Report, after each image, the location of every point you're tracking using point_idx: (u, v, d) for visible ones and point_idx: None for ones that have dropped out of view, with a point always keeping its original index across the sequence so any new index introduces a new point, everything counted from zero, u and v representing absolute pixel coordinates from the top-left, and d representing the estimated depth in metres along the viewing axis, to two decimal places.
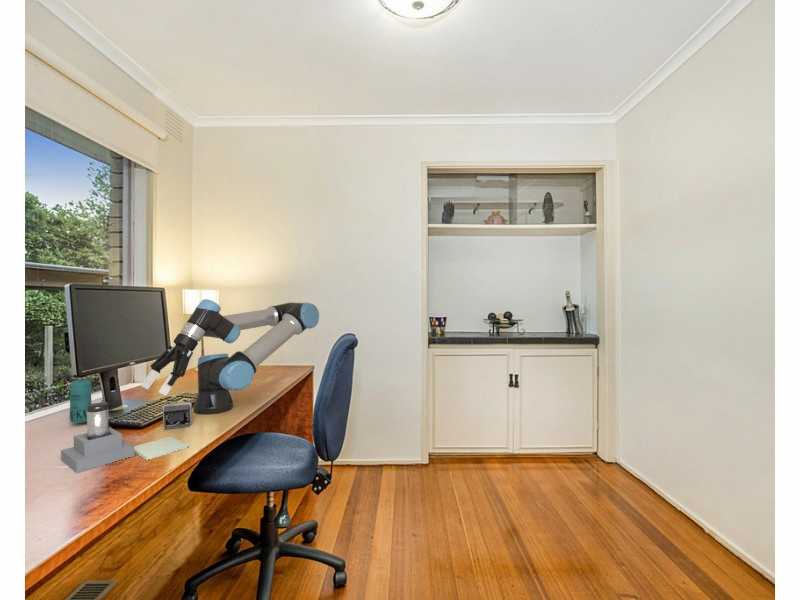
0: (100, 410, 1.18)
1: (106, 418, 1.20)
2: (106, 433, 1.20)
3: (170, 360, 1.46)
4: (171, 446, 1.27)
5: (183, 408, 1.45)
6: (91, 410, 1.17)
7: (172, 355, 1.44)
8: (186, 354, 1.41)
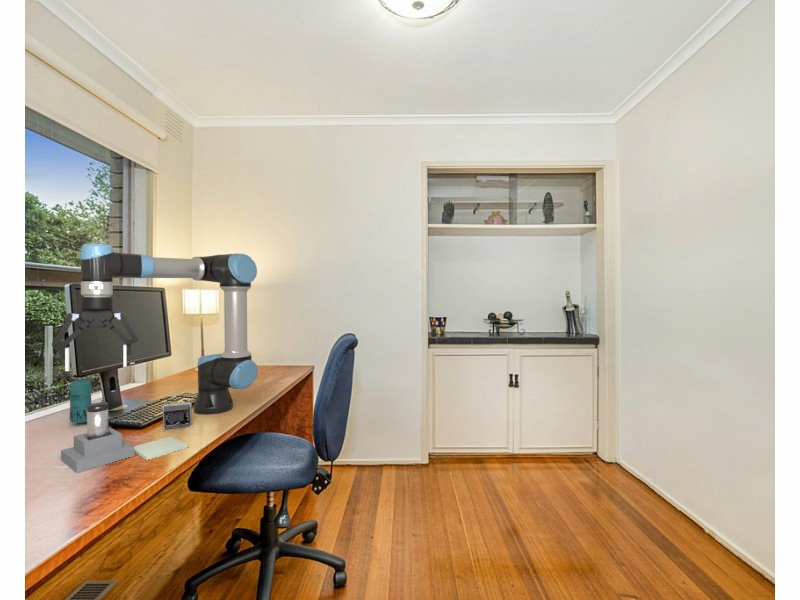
0: (100, 410, 1.18)
1: (106, 418, 1.20)
2: (106, 433, 1.20)
3: (84, 328, 1.18)
4: (171, 446, 1.27)
5: (183, 408, 1.45)
6: (91, 410, 1.17)
7: (94, 324, 1.18)
8: (125, 318, 1.22)
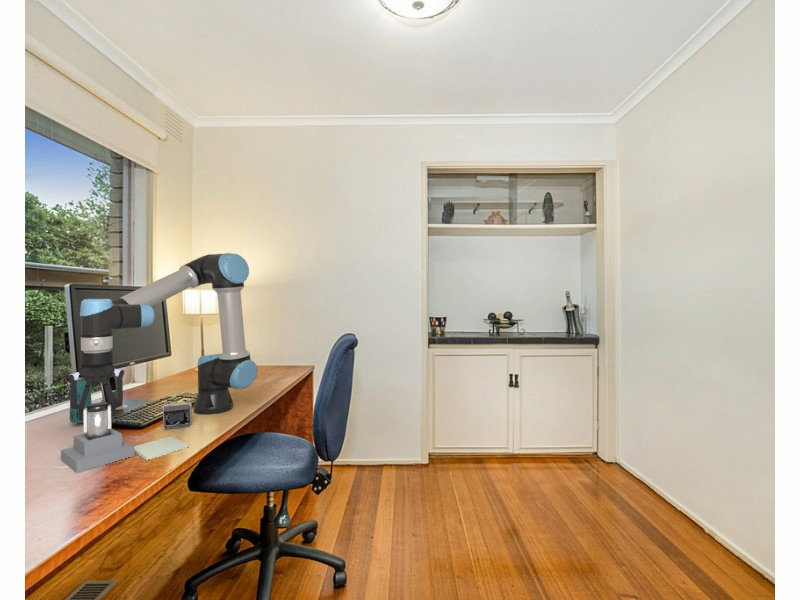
0: (100, 410, 1.18)
1: (106, 418, 1.20)
2: (106, 433, 1.20)
3: None
4: (171, 446, 1.27)
5: (183, 408, 1.45)
6: (91, 410, 1.17)
7: (94, 379, 1.18)
8: (122, 376, 1.22)
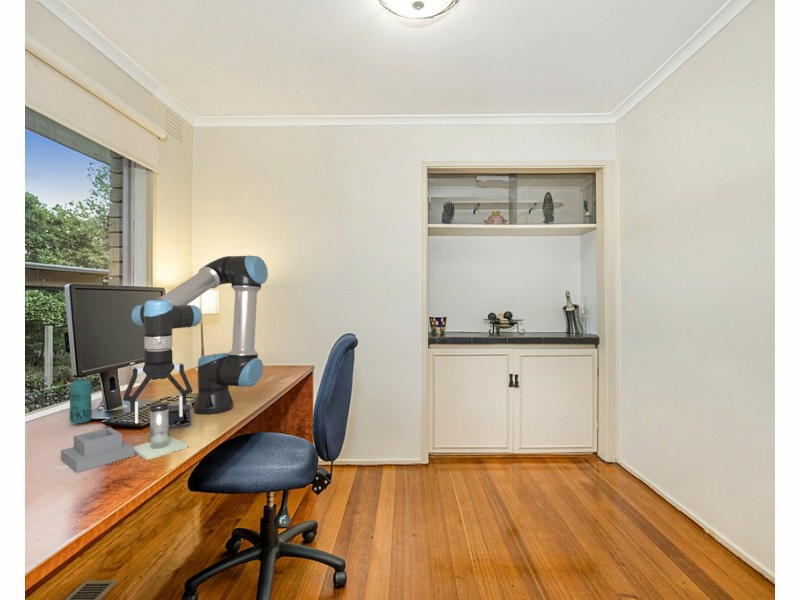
0: (162, 409, 1.25)
1: (167, 417, 1.27)
2: (167, 431, 1.27)
3: None
4: (171, 446, 1.27)
5: (183, 408, 1.45)
6: (154, 409, 1.24)
7: (157, 376, 1.25)
8: (183, 369, 1.30)
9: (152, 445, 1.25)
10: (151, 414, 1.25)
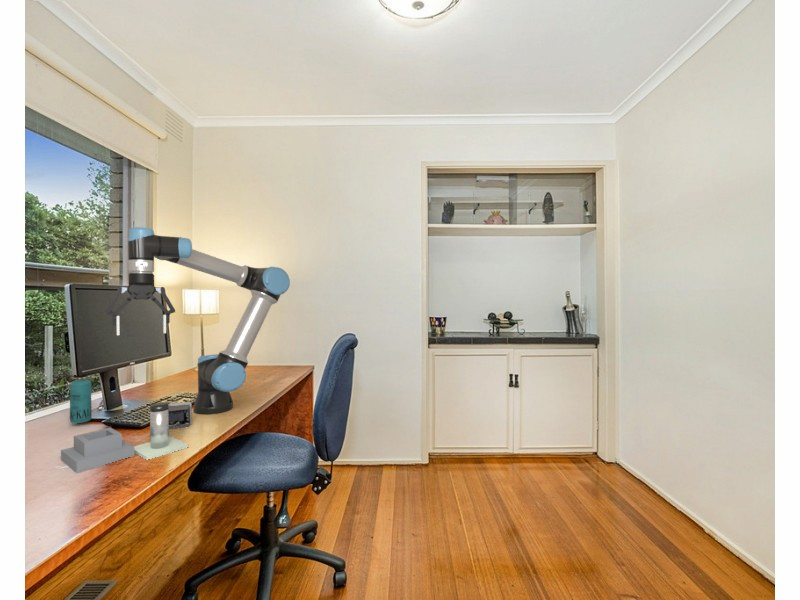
0: (162, 410, 1.25)
1: (167, 417, 1.27)
2: (167, 432, 1.27)
3: None
4: (171, 446, 1.27)
5: (183, 408, 1.45)
6: (154, 410, 1.24)
7: (140, 296, 1.39)
8: (164, 292, 1.43)
9: (152, 445, 1.25)
10: (151, 414, 1.24)
